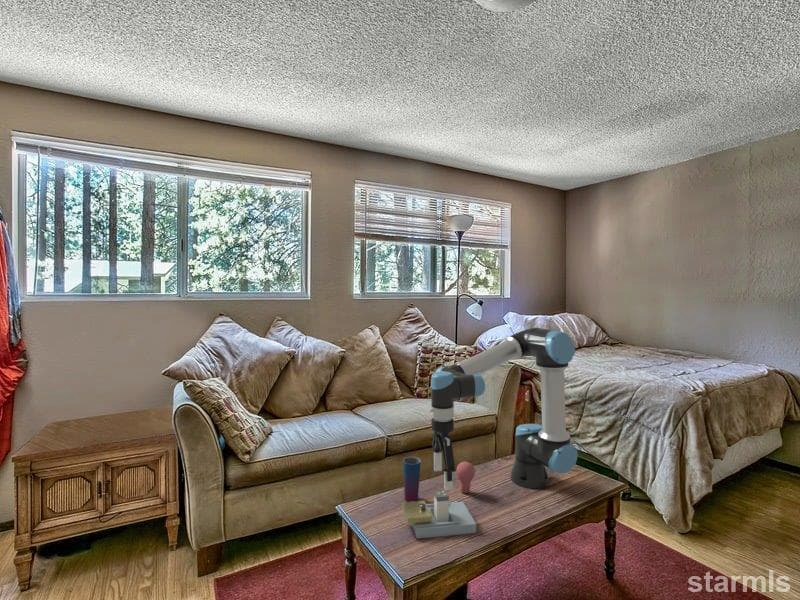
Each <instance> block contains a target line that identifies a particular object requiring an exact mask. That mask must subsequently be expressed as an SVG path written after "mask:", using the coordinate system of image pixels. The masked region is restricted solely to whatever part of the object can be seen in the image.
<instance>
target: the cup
mask: <svg viewBox="0 0 800 600" xmlns="http://www.w3.org/2000/svg"><path fill="white" fill-rule="evenodd" d="M421 460H422V459H420V458H419V457H416V456H408V457H407V456H406V457H404V458H403V459H402V470H403V471H402V472H403V489H404V490H403V491H404V500H405V501H404V502H412V501H419V491H420V489H419V488H420V478H421V477H420V475H421V464H422V463H421V462H422V461H421Z"/></svg>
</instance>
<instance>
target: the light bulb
mask: <svg viewBox="0 0 800 600" xmlns="http://www.w3.org/2000/svg"><path fill="white" fill-rule="evenodd" d="M475 469H476V468H475V467H474V466H473V464H472V463H471V462H469V461H462V462H460V463H459V464H458V465H457V467H456V469H455V471H456V475H457V477H458V479H459V483H460V485H459V490H460V492H461V493H465V494H466V493H467V494H468V493H470V491H471V490H470V489H471V485H472V484H471V482H472V481H473V479H474V477H475V475H476V472H475V471H476V470H475Z"/></svg>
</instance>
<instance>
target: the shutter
mask: <svg viewBox="0 0 800 600" xmlns="http://www.w3.org/2000/svg"><path fill="white" fill-rule="evenodd" d="M426 504H427V503H426V501H425V500H418V501H412V502H407V501H402V502H401V510H402V513H403V516H404V520H405V523H406V526H408V527H410V526H412V525H418V524H429V523H431V517H432V516H431V514H430V512H429V509H428V507H427V505H426ZM412 527H413V526H412Z"/></svg>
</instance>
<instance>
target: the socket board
mask: <svg viewBox="0 0 800 600" xmlns="http://www.w3.org/2000/svg"><path fill="white" fill-rule="evenodd" d="M426 505H427V507H428V509H429V512H430V514H431V516H432V517H431V523H429V524H418V525H412V529H413V531H414V534H415V535H414V536H415V537H416V539H425V538H437V537H445V536H459V535H469V534H476V533H477V523H476V520H475V519H474V517H473V516H472V514H471V513H470V511H469V509H468V508H467V506H466V505H465V503H464V501H456V502H455V501H454V502H449V518H448V522H440V523H436V522H435V519H434V502H432V503H426Z"/></svg>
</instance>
